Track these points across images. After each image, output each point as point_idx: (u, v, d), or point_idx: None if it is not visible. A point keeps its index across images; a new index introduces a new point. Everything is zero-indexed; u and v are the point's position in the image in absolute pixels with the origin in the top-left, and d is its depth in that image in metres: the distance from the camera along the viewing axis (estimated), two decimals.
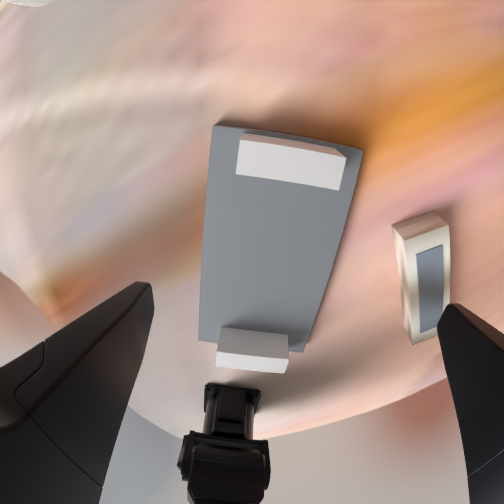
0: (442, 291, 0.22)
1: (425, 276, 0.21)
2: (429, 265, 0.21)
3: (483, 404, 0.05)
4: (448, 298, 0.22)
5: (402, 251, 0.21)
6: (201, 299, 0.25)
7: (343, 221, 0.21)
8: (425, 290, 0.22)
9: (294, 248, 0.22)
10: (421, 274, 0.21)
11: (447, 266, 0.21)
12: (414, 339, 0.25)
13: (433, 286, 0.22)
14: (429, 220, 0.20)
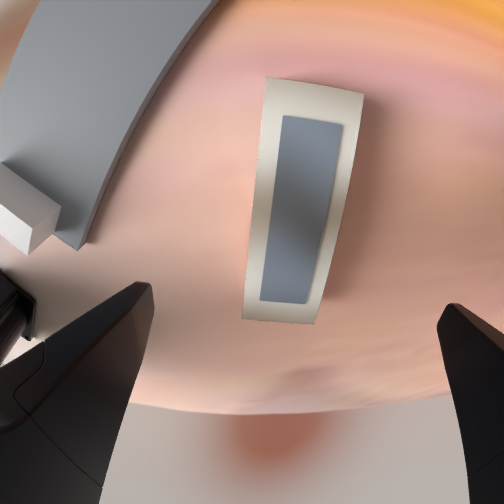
0: (321, 229, 0.13)
1: (292, 173, 0.12)
2: (305, 151, 0.12)
3: (483, 404, 0.05)
4: (329, 253, 0.14)
5: None
6: None
7: (183, 32, 0.11)
8: (286, 206, 0.13)
9: (104, 56, 0.11)
10: (285, 165, 0.12)
11: (343, 179, 0.12)
12: (247, 308, 0.16)
13: (303, 206, 0.13)
14: None
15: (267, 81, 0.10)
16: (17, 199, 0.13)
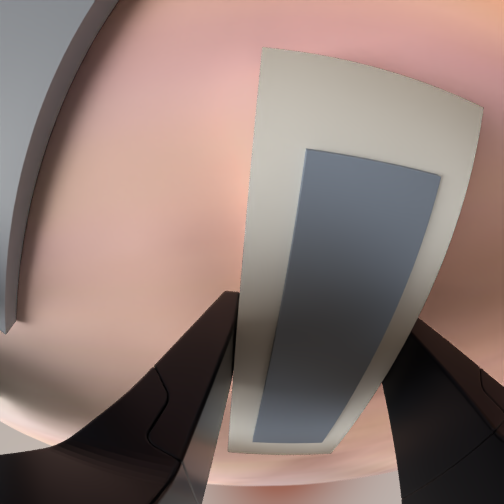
0: (364, 368, 0.07)
1: (322, 285, 0.05)
2: (356, 239, 0.05)
3: (415, 419, 0.05)
4: (371, 391, 0.07)
5: None
6: None
7: None
8: (303, 341, 0.06)
9: None
10: (307, 268, 0.05)
11: (421, 287, 0.06)
12: (234, 445, 0.09)
13: (338, 340, 0.06)
14: None
15: (265, 57, 0.04)
16: None
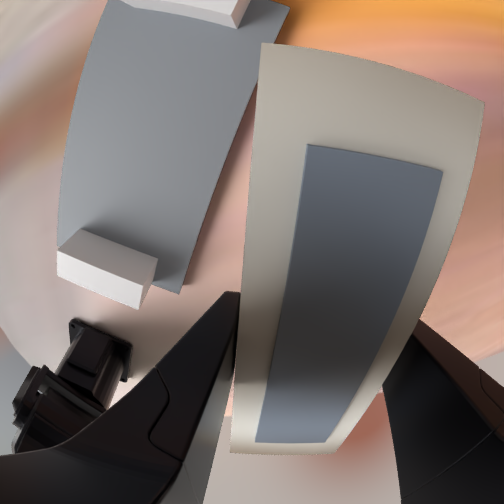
0: (366, 366, 0.07)
1: (324, 282, 0.05)
2: (357, 235, 0.05)
3: (414, 419, 0.05)
4: (373, 390, 0.07)
5: None
6: (62, 183, 0.17)
7: (249, 91, 0.14)
8: (305, 340, 0.06)
9: (176, 119, 0.15)
10: (309, 265, 0.05)
11: (423, 284, 0.06)
12: (236, 445, 0.09)
13: (341, 338, 0.06)
14: None
15: (265, 53, 0.04)
16: (115, 261, 0.17)
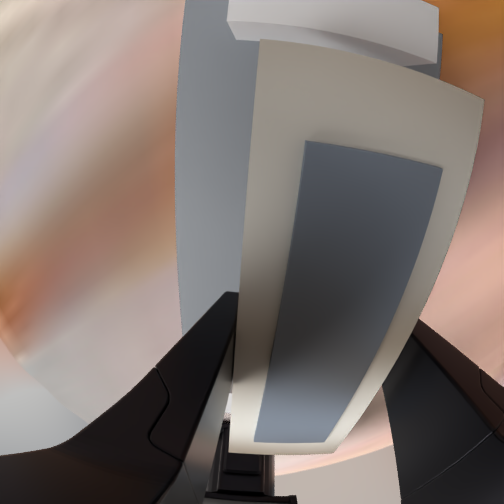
0: (366, 366, 0.07)
1: (323, 280, 0.05)
2: (357, 233, 0.05)
3: (414, 419, 0.05)
4: (373, 390, 0.07)
5: None
6: (183, 303, 0.14)
7: None
8: (304, 339, 0.06)
9: None
10: (308, 262, 0.05)
11: (423, 283, 0.05)
12: (235, 445, 0.09)
13: (340, 337, 0.06)
14: None
15: (263, 49, 0.04)
16: None
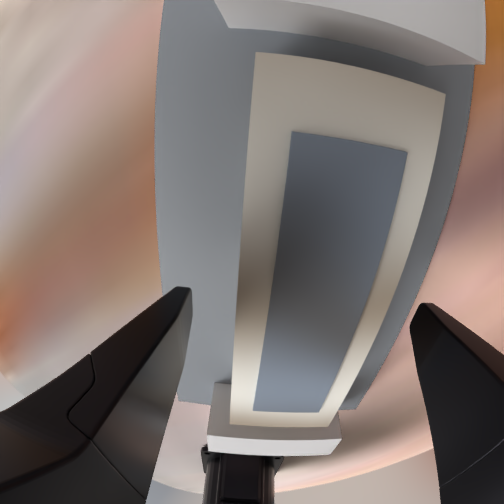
0: (352, 330, 0.08)
1: (309, 246, 0.06)
2: (335, 205, 0.06)
3: (455, 411, 0.05)
4: (361, 356, 0.08)
5: None
6: None
7: (455, 167, 0.08)
8: (295, 300, 0.07)
9: None
10: (296, 232, 0.06)
11: (398, 252, 0.07)
12: (235, 415, 0.10)
13: (327, 299, 0.07)
14: None
15: (258, 60, 0.05)
16: None
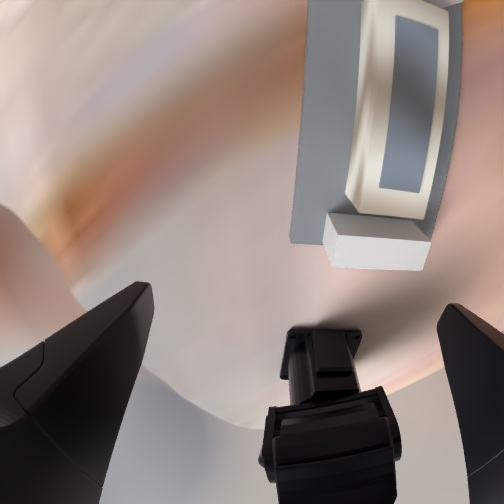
0: (431, 115, 0.12)
1: (407, 61, 0.11)
2: (415, 45, 0.10)
3: (483, 404, 0.05)
4: (438, 139, 0.12)
5: (373, 14, 0.10)
6: (301, 165, 0.17)
7: (459, 60, 0.12)
8: (404, 88, 0.11)
9: None
10: (400, 55, 0.11)
11: (443, 73, 0.11)
12: (365, 199, 0.14)
13: (417, 90, 0.11)
14: None
15: None
16: (392, 230, 0.16)
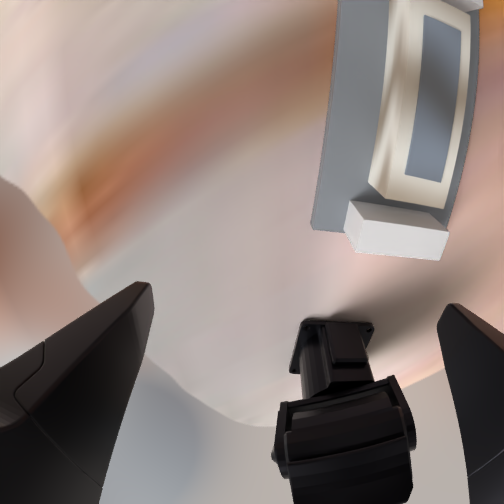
0: (453, 109, 0.12)
1: (433, 57, 0.11)
2: (441, 43, 0.10)
3: (483, 404, 0.05)
4: (459, 132, 0.12)
5: (402, 12, 0.10)
6: (328, 151, 0.17)
7: (476, 62, 0.12)
8: (430, 82, 0.11)
9: None
10: (428, 51, 0.11)
11: (465, 71, 0.11)
12: (392, 185, 0.14)
13: (442, 85, 0.11)
14: None
15: None
16: (413, 219, 0.16)
